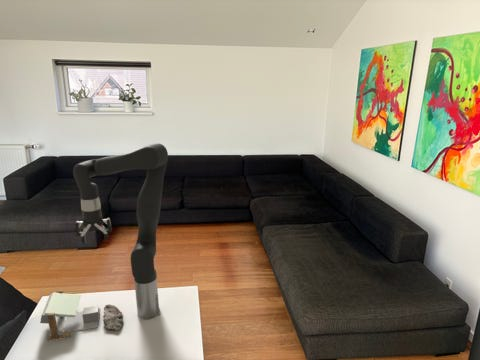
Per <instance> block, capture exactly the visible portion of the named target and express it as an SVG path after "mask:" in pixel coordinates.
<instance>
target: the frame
mask: <svg viewBox="0 0 480 360" xmlns="http://www.w3.org/2000/svg"><path fill="white" fill-rule="evenodd" d="M55 293H64V289H58V290H56V291H55ZM47 317H48V323H49V324H48V327H49V328H48V329H49V333H50V335H48V336H47V341H48V342H50V341H55V340H61V339H66V338H71V336H72V335H71V333H72V332H68V333H60V334H59V329H58V325H57V319H56V316H55V313H49V314H47Z"/></svg>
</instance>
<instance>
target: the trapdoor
mask: <svg viewBox="0 0 480 360" xmlns="http://www.w3.org/2000/svg"><path fill="white" fill-rule="evenodd" d="M81 296H82V295H81V294H78V293H77V294H75V293H66V292H65V293H64V292H63V293H56V291H55V292H52V293H50V294H49V296H48V299H47V300H46V303H45V306H44V308H43V311H42V313H41V317H40V322H39V323H40V324H48V325H49V323H48V317H47V314H49V313H55V317H61V318H62V317H63V318H64V317H65V318H68V317H75V316H76V312H78V307H79V303H80V300H81Z"/></svg>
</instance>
